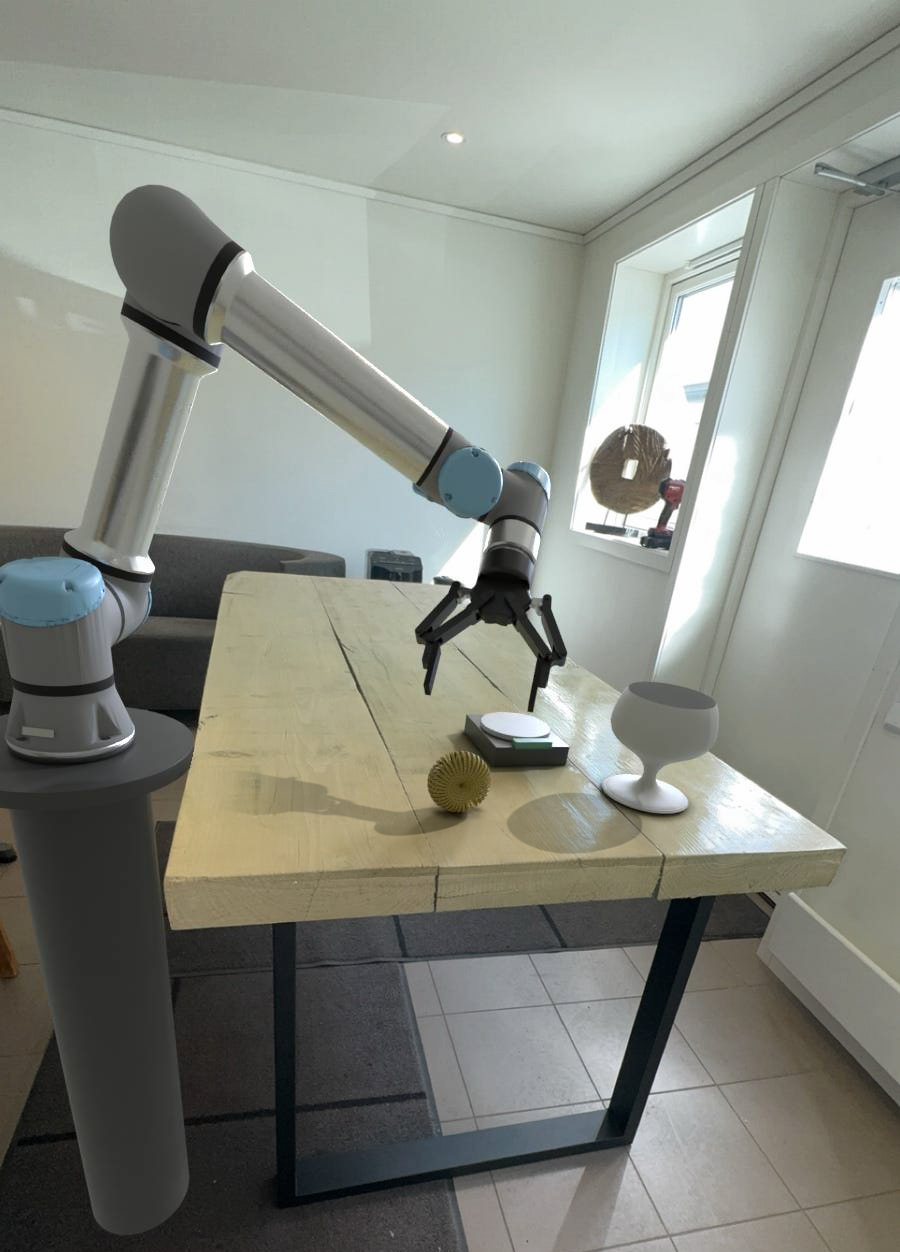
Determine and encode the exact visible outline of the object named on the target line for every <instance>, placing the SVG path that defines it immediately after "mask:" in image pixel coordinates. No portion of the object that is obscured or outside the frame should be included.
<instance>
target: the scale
mask: <svg viewBox="0 0 900 1252" xmlns="http://www.w3.org/2000/svg"><path fill="white" fill-rule="evenodd" d="M465 716H466V717H465V723H464V730H463V732H464V733H465V734H466V735H467V737H468V738H469V739H470V740H471V741H472V742H473V744H474V745H475V746H476V747H477V748H478V749H479V751H480V752H481V753H482V754H483V756H484V757H485V758H486V759H487V760H488V762H489V763H490V764H491V765H492V766H493V767H516V766H519V767H520V766H525V767H526V766H563V765H565V766H566V765H567V762H568V756H569V752H570V746H569V744H567V743H565V741H564V740H562V739H561V737H559V736H558V735H557V734H556V733H554V731H552V730H551V727H550V725H549V724H548V723H547V722H545V721H543V720H541V719H540V718H538V717H536V716H535V715H534V714H525V713H524V714H523V713H518V712H510V711H509V712H508V711H498V712H496V711H495V712H490V713H485V714H480V713H479V714H476V713H475V714H473V713H471V714H468V713H467V714H466V715H465Z"/></svg>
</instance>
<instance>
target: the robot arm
mask: <svg viewBox="0 0 900 1252" xmlns="http://www.w3.org/2000/svg"><path fill="white" fill-rule="evenodd" d="M109 225H110V226H109V247H110V252H111V253H110V255H111V259H112V262H113V265H114V268H115V270H116V273H117V275H118V277H119V279H120V281H121V282H122V284H123V285H124V287H125V289H126V291H125V294H124V298H123V302H122V306H121V310H120V316H119V318H120V320H121V322H122V324H123V327H124V329H125V331H126V333H127V336H128V344H127V347H126V351H125V355H124V359H123V361H122V362H123V363H122V366H121V371H120V374H119V378H118V382H117V386H116V389H115V393H114V396H113V401H112V404H111V408H110V412H109V417H108V420H107V424H106V427H105V431H104V435H103V439H102V443H101V447H100V451H99V455H98V458H97V462H96V465H95V469H94V473H93V477H92V481H91V484H90V489H89V493H88V496H87V501H86V504H85V508H84V511H83V515H82V518H81V523H80V526H79V527H77V528H75V529H72V530H69V531H67V532H65V533H64V536H63V540H62V543H61V547H60V551H59V555H58V556H33V557H32V558H20V559H16V560H12V561H9V562H7V563H4V564H3V565H1V566H0V629H1V635H2V638H3V639H2V640H3V644H4V649H5V655H6V659H7V665H8V669H9V675H10V679H11V685H12V700H11V703H10V709H9V713H8V714H9V718H8V723H7V728H6V734H5V738H6V743H7V748H8V751H9V753H10V754H11V755H12V756H14V757H15V758H17V759H20V760H22V761H26V762H30V763H35V764H41V765H57V766H64V765H80V764H88V763H94V762H99V761H103V760H107V759H110V758H113V757H116V756H118V755H121V754H123V753H125V752H126V751H128V750H129V749H131V748H132V747H133V745H134V744H135V741H136V738H135V728H134V725H133V723H132V721H131V719H130V717H129V715H128V713H127V711H126V709H125V707H126V706H125V705H124V703H123V701H122V699H121V696H120V695H119V692H118V690H117V687H116V682H115V675H114V674H115V673H114V665H113V655H112V647H114V646H115V645H117V644H118V643H120V642H121V641H122V640H124V639H126V638H129V637H130V636H132V635H133V634H135V633H136V632H137V631H139V629H140V628H141V626H144V625H143V624H144V623H145V622H146V620H147V618H148V617H149V614H150V611H151V608H152V590H151V584H152V580H153V577H154V574H155V571H156V567H155V565H154V563H153V561H152V560H151V558H150V555H149V549H150V546H151V543H152V541H153V537H154V533H155V531H156V526H157V524H158V519H159V517H160V514H161V510H162V508H163V507H162V506H163V504H164V500H165V498H166V493H167V491H168V487H169V484H170V481H171V477H172V474H173V471H174V467H175V464H176V462H177V457H178V454H179V451H180V448H181V444H182V441H183V438H184V435H185V431H186V429H187V425H188V422H189V419H190V415H191V412H192V409H193V405H194V402H195V399H196V397H197V396H196V395H197V392H198V389H199V386H200V382H201V380H202V379H203V378H204V377H206V376H209V375H212V374H214V373H217V372H218V370H219V366H220V364H221V360H222V357H223V355H224V351H225V349H226V348H225V347H228V348H230V349H231V351H234V352H235V353H237V354H238V355H239V356H241V357H242V358H243V359H245V360H246V361H247V362H249V363H250V364H251V365H253V366H254V367H255V368H257V369H258V370H259V371H261V372H262V373H264V374H265V375H266V376H268V377H269V378H271V380H273V381H274V382H276V383H277V384H278V385H280V386H281V387H283V388H284V389H285V390H286V391H288V392H289V393H291V394H292V395H293V396H295V397H296V398H297V399H299V400H300V401H301V402H303V403H304V404H306V405H307V406H309V407H310V408H311V409H313V410H314V411H315V412H316V413H318V414H319V415H320V416H322V417H324V418H325V419H326V420H327V421H329V422H330V423H331V424H333V425H334V426H336V427H337V428H338V429H339V430H340V431H342V432H344V433H345V434H346V435H347V436H349V437H350V438H352V439H353V440H355V441H356V442H357V443H358V444H360V445H362V446H363V447H364V448H365V449H367V450H368V451H370V452H371V453H372V454H374V455H375V456H377V458H379V459H381V460H382V461H383V462H385V464H387V465H388V466H390V467H391V468H393V469H394V470H395V471H396V472H398V473H400V474H401V475H402V476H404V477H405V478H406V479H408V480H409V481H410V482H412V483H411V489H412V492H413V493H415V494H416V495H418V496H420V497H422V498H424V499H426V500H427V501H428V502H430V503H435V504H437V505H440V506H441V507H444V508H445V509H447V510H448V511H449V512H450V513H452V514H453V515H455V516H456V517H458V518H461V519H467V520H468V519H473V520H475V521H476V522H478V523H481V524H484V525H486V526H488V527H489V528H488V531H487V535H486V539H485V544H484V547H483V551H482V558H481V560H480V565H479V569H478V572H477V577H476V581H475V583H474V586H472V588H470V587H467V586H462V584H461V582H460V581H459V580H454V581H452V582H451V584H450V587H449V589H448V592H447V594H446V595H444V597H443V598H442V599H441V600H440V601H439V602H438V603H437V604H436V606H435V607H434V608H433V609H432V610H431V611H430V612H429V613H428V614H427V615H426V617H424V618H423V620H422V621H421V622H419V624H418V625H417V626H416V627H415V628H414V636H415V641H416V643H417V644H418V645H419V646H420V645H421V646H422V645H423V646H424V649H423V653H422V656H421V664H422V669H423V670H426V671H425V672H426V673H425V676H424V680H423V683H422V685H423V692H424V696H425V695H426V696H431V695H432V692H433V687H434V683H435V680H436V676H437V672H438V668H439V664H440V660H441V656H442V649H441V648H442V646H443V645H445V644H446V643H448V642H449V641H450V640H452V639H453V638H455V637H456V636H458V635H459V634H460V633H463V631H465V630H466V629H468V628H469V627H471V626H476V625H477V624H478V623H480V622H481V621H483V622H484V624H487V625H493V624H494V625H495V624H496V625H498V626H500V627H508V626H509V625H510V626H511V625H512V627H513V628H514V629H515V631H516V632H517V633H519V635H520V636H521V637H522V640H523V641H524V642H525V643H526V645H527V646H528V648H529V649H530V651H531V652H532V654H533V655H534V657H535V658H536V661H535V667H534V671H533V677H532V683H531V688H530V693H529V698H528V703H527V711H526V712H527V713H534V710H535V705H536V700H537V694H538V689H547V687H548V683H549V678H550V674H551V669H552V668H553V667H555V666H557V667H559V668H561V667H564V666H565V665H566V661H567V657H568V649H567V648H566V645H565V642H564V639H563V637H562V634H561V632H560V629H559V626H558V623H557V620H556V618H555V615H554V612H553V609H552V601H553V600H552V599H553V597H552V595H551V594H549V593H546V594H544V595H543V596H542V597H533V596H532V595H531V590H532V585H533V582H534V581H533V580H534V575H535V568H536V566H537V561H538V557H539V552H540V547H541V540H542V534H543V530H544V526H545V522H546V518H547V513H548V511H549V507H550V498H551V480H550V476H549V475H548V472H547V471H546V470H545V469H544V468H543V467H542V466H540V465H539V464H538V463H535V462H533V461H527V462H526V461H522V460H519V461H518V460H517V461H514V462H512V463H510V464H508V466H506V467H505V468H501V467H500V464H499V462H498V461H497V460H496V459H495V457H494V456H493V455H492V454H490V452H489V451H488V450H486V449H484V448H483V447H479V446H477V445H474V444H473V443H472V442H471V441H470V440H468V439H467V438H466V437H464V436H463V435H462V434H460V432H458V431H457V430H455V429H453V427H451V426H450V425H449V424H448V423H447V422H446V421H444V420H443V419H442V418H440V416H438V415H437V414H435V412H433V411H432V410H430V408H428V407H427V406H426V405H424V404H423V403H422V402H420V401H419V400H418V399H417V398H415V397H414V396H413V395H411V393H409V392H408V391H406V390H405V389H404V388H402V387H401V386H400V385H399V384H398V383H396V382H395V381H393V379H391V377H389V376H388V375H387V374H385V373H384V372H383V371H381V370H380V369H379V368H377V367H376V366H375V365H374V364H372V363H371V362H370V361H369V360H367V359H366V358H365V357H363V356H362V355H361V354H360V353H358V352H357V351H356V350H355V349H353V348H352V347H351V346H349V345H348V344H347V343H346V342H345V341H343V340H342V339H340V338H339V337H338V336H337V335H335V334H334V332H332V331H331V330H329V329H328V328H327V327H325V326H324V325H323V324H322V323H321V322H319V321H318V320H317V319H316V318H314V317H313V316H312V315H311V314H309V313H308V312H307V311H306V310H305V309H303V308H302V307H300V306H299V305H298V304H297V303H296V302H294V301H293V300H292V299H290V298H289V297H288V296H287V295H285V294H284V293H283V292H282V291H280V290H279V289H278V288H276V287H275V286H274V285H272V284H271V283H270V282H269V281H268V280H266V279H265V278H264V277H262V276H261V274H259V273H257V271H256V270H255V266H254V263H253V260H252V259H253V258H252V256H251V254H250V253H249V252H248V251H247V250H246V249H245V248H243V247H242V246H240V245H239V244H238V243H237V242H235V240H233V238H231V237H230V236H229V235H227V234H226V233H225V232H224V231H223V230H222V229H221V228H220V227H219V226H218V225H217V224H216V223H215V222H213V220H211V218H210V217H209V216H208V215H207V214H206V213H205V211H203V210H202V209H201V208H200V207H199V205H198V204H197V203H195V202H194V201H193V200H192V199H191V198H190V197H188V196H187V195H186V194H184V193H182V192H181V191H179V190H177V189H175V188H172V187H170V186H165V185H162V184H145V185H141V186H138V187H135V188H134V189H132V190H130V191H129V192H127V193H126V194H125V195H124V196H123V197H122V198H121V199H120V200H119V202H118V203H117V205H116V206H115V209H114V211H113V214H112V216H111V221H110V224H109ZM468 599H469V601H470V602H469V603H468V604H466V606H465V608H464V609H463V610H461V611H459V612H458V613H457V614H455V615H454V616H453V617H450V616H451V614H452V613H454V611H455V610H456V608H457V607H458V605H462V604H463V602H465V600H468ZM531 609H533V610H534V612H535V614H536V615H537V616H538V617H540V623H541V626H542V627H543V628H542V629H543V631H544V634H545V637H546V639H547V642H548V645H549V646H548V645H547V643H546V642H545V640H544V639H543V638H542V636H541V635H540V633H539V631H538V630H537V629H536V627H535V626H534V625H533V623H532V622H531V620H530V619H529V617H528V614H527V613H528V611H530V610H531ZM449 617H450V618H449ZM448 618H449V619H448ZM447 619H448V620H447Z"/></svg>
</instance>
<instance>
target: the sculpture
mask: <svg viewBox="0 0 900 1252" xmlns="http://www.w3.org/2000/svg"><path fill="white" fill-rule="evenodd" d="M491 775H492V773H491V770H490V768H489V766H488V765H487V762H486V761H484V759H483V758H482V757H480V755H477V754H475V753H473V752H469V751H467V750H459V751H458V750H455V751H453V752H452V751H450V752H449V755H448V753H445V754H444V756H441V757H440V758H439V759H437V760H436V761H435V763H433V764H432V766H431V767H430V770H429V773H428V775H427V780H426V782H427V784H426V785H427V791H428V795H429V796H430V798H431V799H432V801H433V803H435V804H436V806H438V807H440V808H441V809H443V810H445V811H447V812H450V813H460V812H461V813H464V812H465V811H466V812H468V811H470V809H471V810H473V809H474V807H475V808H477V807H478V806H479V805H480V804H482V803H483V801H485V799H486V797H487V796H488V794H489V792H490V790H491V786H492V776H491Z"/></svg>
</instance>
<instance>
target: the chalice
mask: <svg viewBox="0 0 900 1252" xmlns="http://www.w3.org/2000/svg"><path fill="white" fill-rule="evenodd" d="M719 712H720V711H719V707H718V704H717V702H716V700H715V699H713V698H712V697H711V696H709V695H707V694H705V693H703V692H700V691H698V690H695V689H692V688H689V687H686V686H681V685H677V684H672V683H667V682H660V681H659V682H658V681H636V682H632V683H630V684H628V686H626V688H624V690H623V691H622V692H621V693H620V695H619V697H618V699H617V700H616V703H615V705H614V707H613V710H612V711H611V714H610V715H611V716H610V727H611V731H612V733H613V735H614V737H615V738H616V739H617V740H618V742H619V743H621V744H622V745H623V746H624V747H625V748H627V749H628V750H629V751H630V752H632V753H633V754H634V755H636V757H638V758H639V760H640V761H641V764H642V766H643V773H642V775H640V774H631V773H629V774H628V773H624V774H623V773H622V774H615V775H611V776H609V777H606V778H605V779H604V780H603V781H602V782H601V788H602V790H603V792H604V793H605V794H606V795H607V796H608V797H610V798H611V799H612V800H614V801H616V802H617V803H619V804H622V805H624V806H626V807H629V808H631V809H634V810H639V811H643V812H647V813H653V814H676V813H681V812H682V811H685V810H686V809H687V808H688V807H689V800H688V798H687V796H686V795H685V794H684V793H683V792H682V791H681V790H680V789H678V788H677V787H675V786H673V785H672V784H670V783H668V782H666V781H662V780H660V779H657V775H658V773H659V772H660V770H661V769H662V768H664V767H666V766H668V765H671V764H675V763H680V762H686V761H690V760H694V759H697V758H700V757H703V756H704V755H705V754H707V753H708V752H709V751H711V750H712V748H713V747H714V745H715V744H716V741H717V739H718V734H719V726H720V725H719V724H720V715H719Z"/></svg>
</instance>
